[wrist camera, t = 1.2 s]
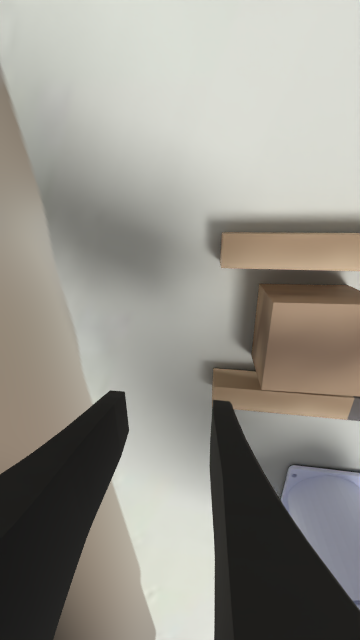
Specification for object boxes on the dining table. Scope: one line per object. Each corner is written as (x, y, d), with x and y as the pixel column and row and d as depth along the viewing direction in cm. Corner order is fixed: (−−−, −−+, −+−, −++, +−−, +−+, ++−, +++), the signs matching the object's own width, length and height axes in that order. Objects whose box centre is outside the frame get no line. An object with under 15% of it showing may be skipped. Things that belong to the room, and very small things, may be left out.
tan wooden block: (328, 358, 19) (360, 396, 15) (251, 354, 20) (261, 389, 16) (347, 285, 17) (391, 305, 13) (259, 283, 17) (273, 302, 13)
